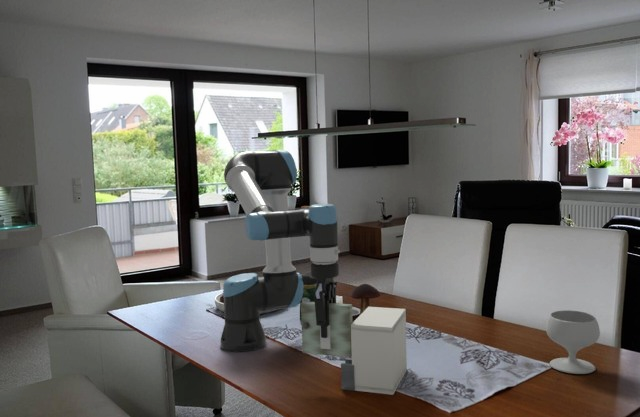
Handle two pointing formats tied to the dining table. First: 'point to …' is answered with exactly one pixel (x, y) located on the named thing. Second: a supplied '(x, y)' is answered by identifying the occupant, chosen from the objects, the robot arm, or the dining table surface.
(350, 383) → the hinge clip
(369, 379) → the cabinet
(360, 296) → the decorative mushroom
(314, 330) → the cabinet door
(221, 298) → the bowl
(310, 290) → the coffee jar
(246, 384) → the dining table surface
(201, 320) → the dining table surface
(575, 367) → the chalice
